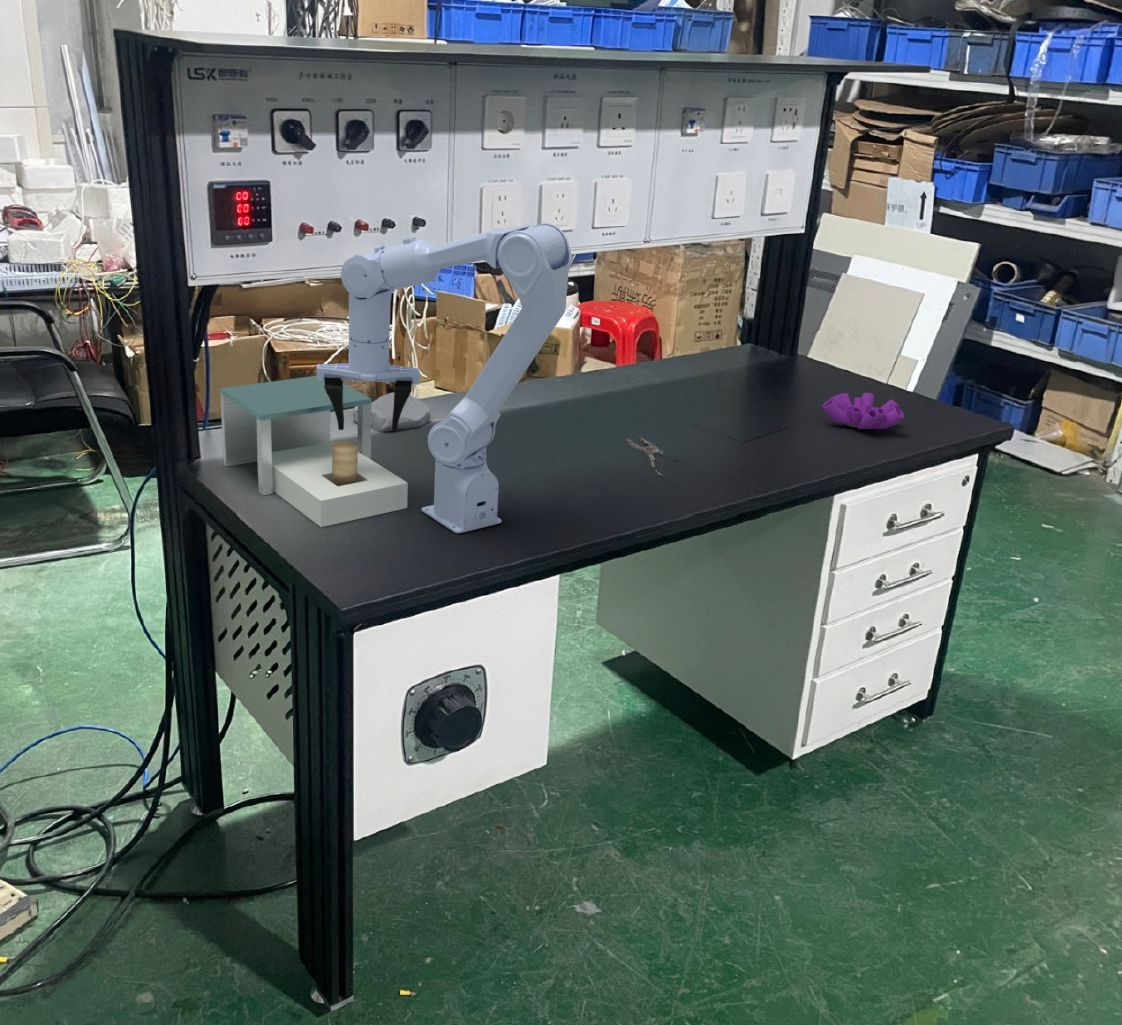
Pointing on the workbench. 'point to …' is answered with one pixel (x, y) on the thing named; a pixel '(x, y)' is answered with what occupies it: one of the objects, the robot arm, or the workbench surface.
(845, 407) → the purple tube coral
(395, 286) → the robot arm
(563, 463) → the workbench surface
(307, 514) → the socket block
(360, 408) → the teal topped shelf
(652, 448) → the pliers
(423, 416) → the stone block
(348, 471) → the peg
